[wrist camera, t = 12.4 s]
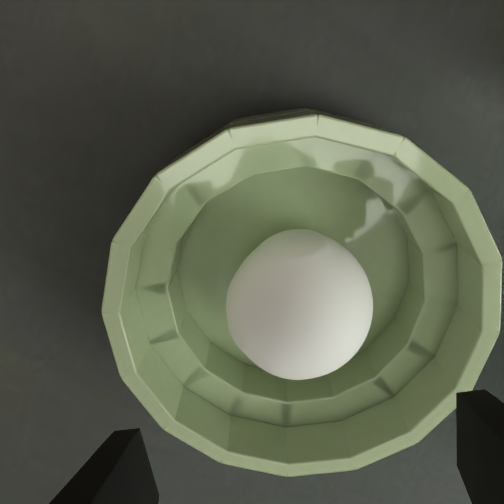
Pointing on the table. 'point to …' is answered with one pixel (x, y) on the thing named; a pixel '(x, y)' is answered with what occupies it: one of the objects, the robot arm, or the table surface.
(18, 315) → the table surface
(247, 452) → the bowl
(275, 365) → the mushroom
